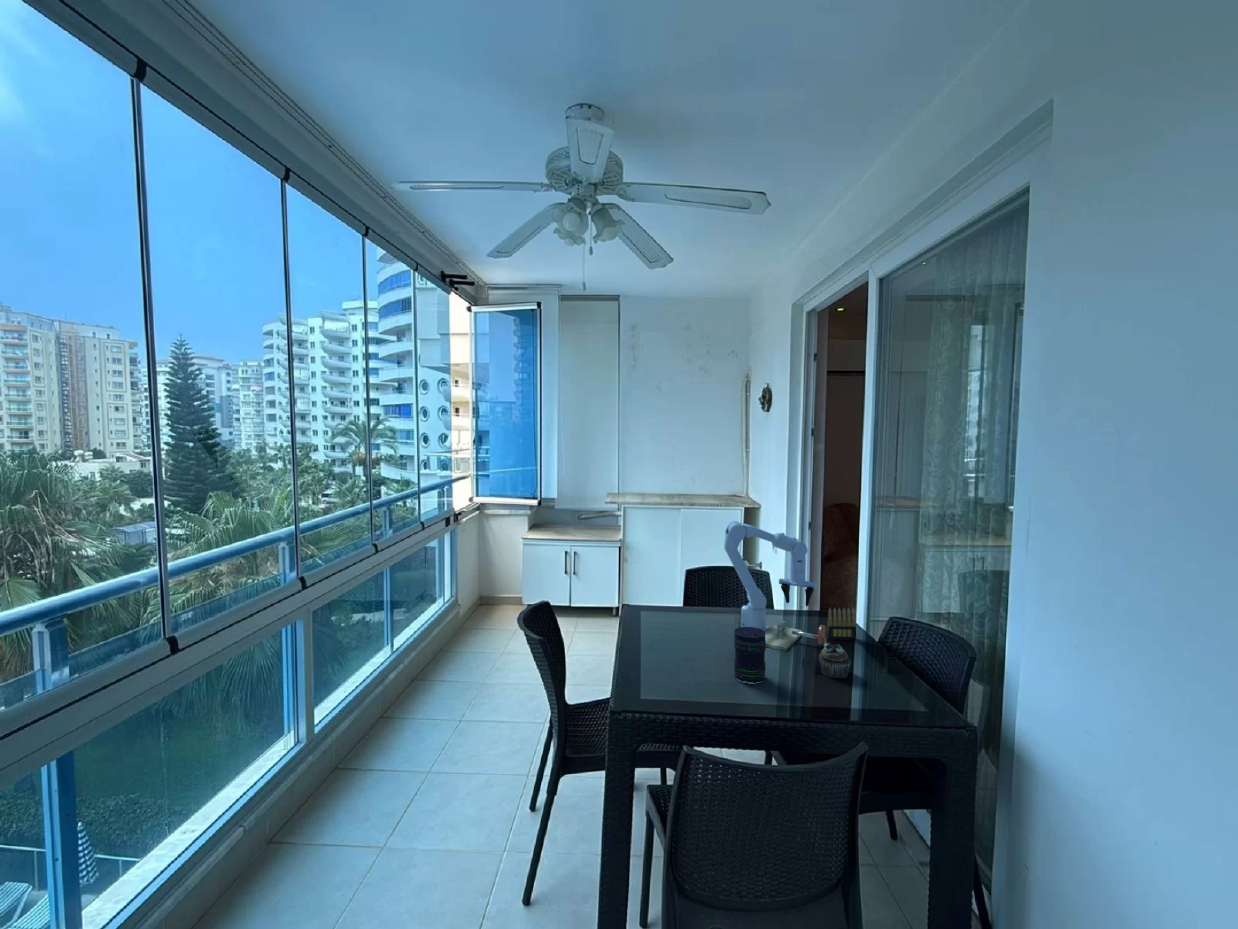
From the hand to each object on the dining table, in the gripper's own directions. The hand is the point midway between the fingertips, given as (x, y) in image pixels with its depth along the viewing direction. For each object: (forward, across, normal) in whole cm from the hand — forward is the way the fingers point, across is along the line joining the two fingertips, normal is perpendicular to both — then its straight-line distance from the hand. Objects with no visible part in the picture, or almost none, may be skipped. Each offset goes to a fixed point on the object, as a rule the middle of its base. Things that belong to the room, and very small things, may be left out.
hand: (797, 604), depth 222 cm
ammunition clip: (+11, +17, -1) cm, 20 cm away
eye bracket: (+10, -2, -14) cm, 18 cm away
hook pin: (+9, +8, -14) cm, 19 cm away
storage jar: (+11, 0, -54) cm, 55 cm away
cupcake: (+11, +22, -36) cm, 44 cm away
